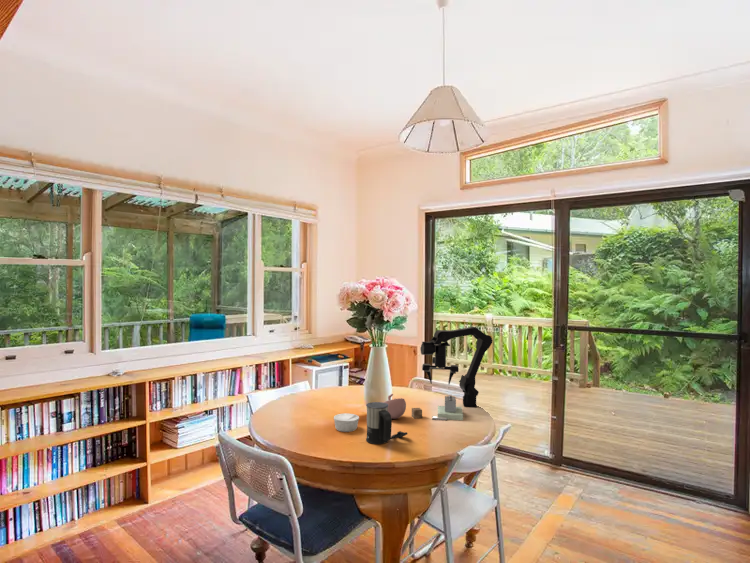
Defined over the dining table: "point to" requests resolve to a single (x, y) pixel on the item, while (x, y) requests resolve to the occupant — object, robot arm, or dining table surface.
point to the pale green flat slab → (450, 413)
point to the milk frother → (380, 424)
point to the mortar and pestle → (396, 407)
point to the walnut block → (416, 413)
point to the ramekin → (346, 422)
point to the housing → (450, 404)
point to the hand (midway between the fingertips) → (440, 384)
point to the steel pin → (439, 418)
